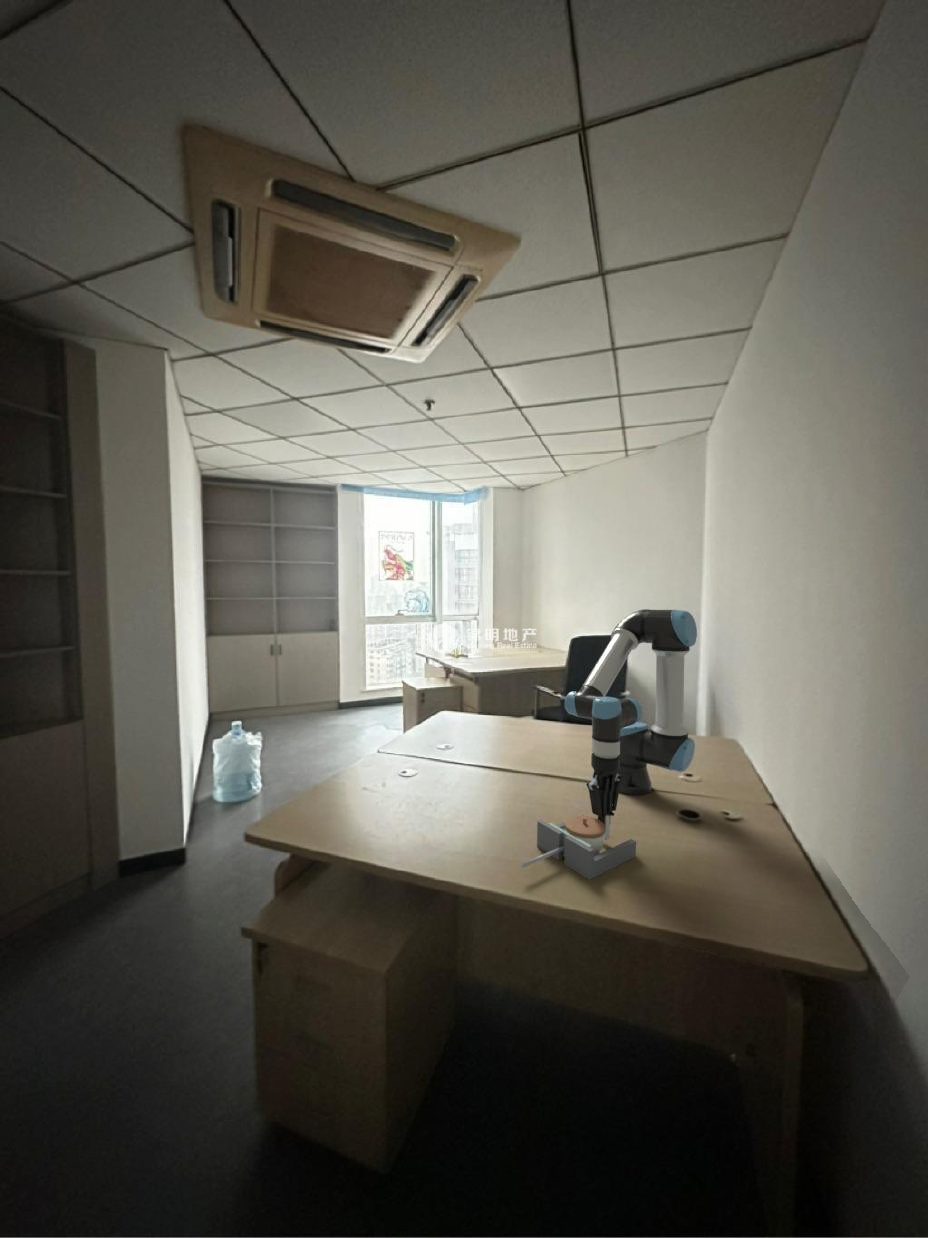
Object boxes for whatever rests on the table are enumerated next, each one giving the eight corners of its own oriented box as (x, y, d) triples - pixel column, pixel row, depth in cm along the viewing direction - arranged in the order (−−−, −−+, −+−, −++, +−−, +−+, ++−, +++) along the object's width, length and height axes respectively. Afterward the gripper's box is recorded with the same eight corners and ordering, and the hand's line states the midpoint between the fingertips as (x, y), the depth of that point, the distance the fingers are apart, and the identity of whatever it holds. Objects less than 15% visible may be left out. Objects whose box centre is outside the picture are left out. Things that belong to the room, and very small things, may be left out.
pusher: (550, 844, 125) (550, 822, 124) (591, 869, 113) (591, 845, 113) (503, 863, 115) (503, 840, 115) (542, 893, 104) (543, 867, 103)
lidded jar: (608, 848, 124) (609, 814, 124) (599, 868, 115) (600, 832, 114) (569, 838, 129) (570, 805, 129) (558, 856, 120) (559, 821, 119)
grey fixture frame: (582, 827, 135) (583, 804, 135) (635, 856, 120) (636, 830, 120) (537, 846, 125) (537, 821, 124) (589, 879, 110) (589, 851, 109)
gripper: (609, 746, 132) (607, 825, 133) (579, 754, 125) (577, 838, 126) (631, 753, 126) (629, 836, 127) (601, 762, 119) (599, 850, 120)
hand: (603, 837), depth 127 cm, fingers closed
